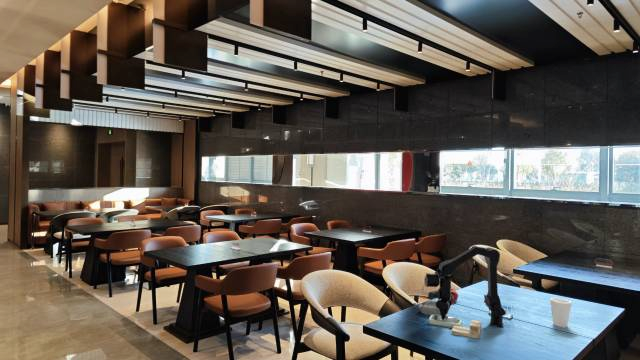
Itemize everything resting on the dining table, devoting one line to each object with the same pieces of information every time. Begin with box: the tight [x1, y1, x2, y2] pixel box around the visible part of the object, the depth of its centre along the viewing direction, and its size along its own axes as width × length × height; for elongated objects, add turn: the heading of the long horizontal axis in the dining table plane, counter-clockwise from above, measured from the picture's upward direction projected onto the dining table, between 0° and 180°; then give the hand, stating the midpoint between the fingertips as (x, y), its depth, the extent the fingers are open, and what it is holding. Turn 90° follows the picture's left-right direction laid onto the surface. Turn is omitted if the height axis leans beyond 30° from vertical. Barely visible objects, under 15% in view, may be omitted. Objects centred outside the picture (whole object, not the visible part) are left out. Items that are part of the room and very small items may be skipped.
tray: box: [428, 315, 463, 329], centre depth 214 cm, size 9×16×2 cm, turn 64°
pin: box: [434, 314, 458, 324], centre depth 214 cm, size 3×11×3 cm, turn 64°
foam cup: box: [550, 297, 572, 328], centre depth 215 cm, size 10×9×13 cm
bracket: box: [451, 319, 482, 340], centre depth 201 cm, size 8×13×6 cm, turn 64°
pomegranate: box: [451, 288, 459, 303], centre depth 254 cm, size 10×10×9 cm
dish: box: [418, 300, 441, 316], centre depth 231 cm, size 14×14×5 cm
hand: (444, 316), depth 214 cm, fingers open, 9 cm apart
